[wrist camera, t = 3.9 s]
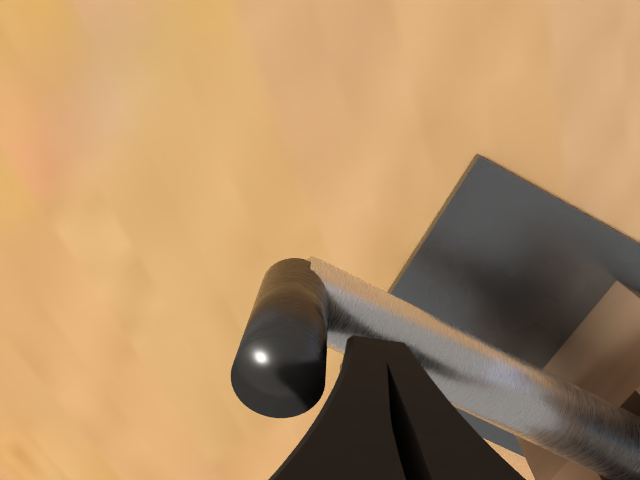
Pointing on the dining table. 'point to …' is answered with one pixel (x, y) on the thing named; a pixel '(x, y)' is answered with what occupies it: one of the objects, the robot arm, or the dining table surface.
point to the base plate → (514, 269)
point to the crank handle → (434, 356)
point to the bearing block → (596, 371)
